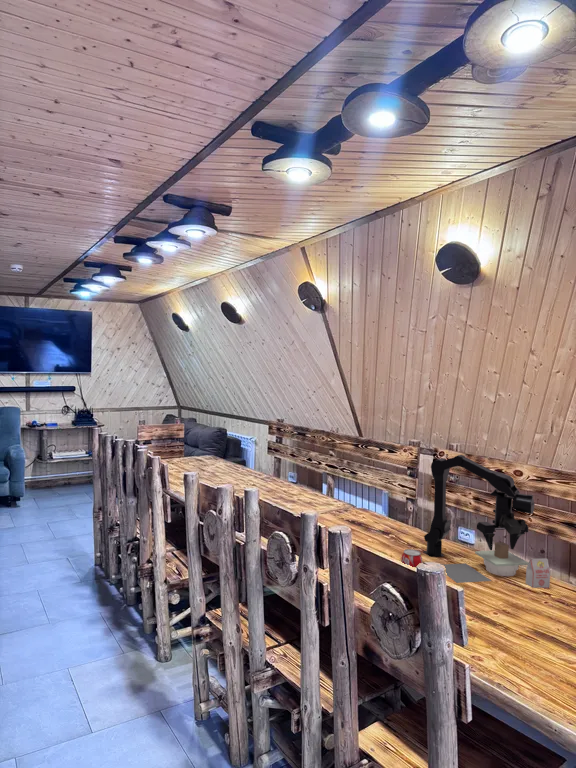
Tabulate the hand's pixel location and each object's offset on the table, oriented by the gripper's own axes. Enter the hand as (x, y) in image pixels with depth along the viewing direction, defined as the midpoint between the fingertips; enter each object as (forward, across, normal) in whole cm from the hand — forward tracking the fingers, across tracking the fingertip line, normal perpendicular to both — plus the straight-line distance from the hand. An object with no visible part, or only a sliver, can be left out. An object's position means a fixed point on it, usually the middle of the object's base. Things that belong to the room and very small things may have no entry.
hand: (501, 549), depth 194 cm
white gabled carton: (+9, +5, -14) cm, 17 cm away
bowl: (+9, 0, 0) cm, 9 cm away
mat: (+9, -16, 0) cm, 19 cm away
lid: (+4, 0, 0) cm, 4 cm away
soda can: (+9, -41, -8) cm, 43 cm away
